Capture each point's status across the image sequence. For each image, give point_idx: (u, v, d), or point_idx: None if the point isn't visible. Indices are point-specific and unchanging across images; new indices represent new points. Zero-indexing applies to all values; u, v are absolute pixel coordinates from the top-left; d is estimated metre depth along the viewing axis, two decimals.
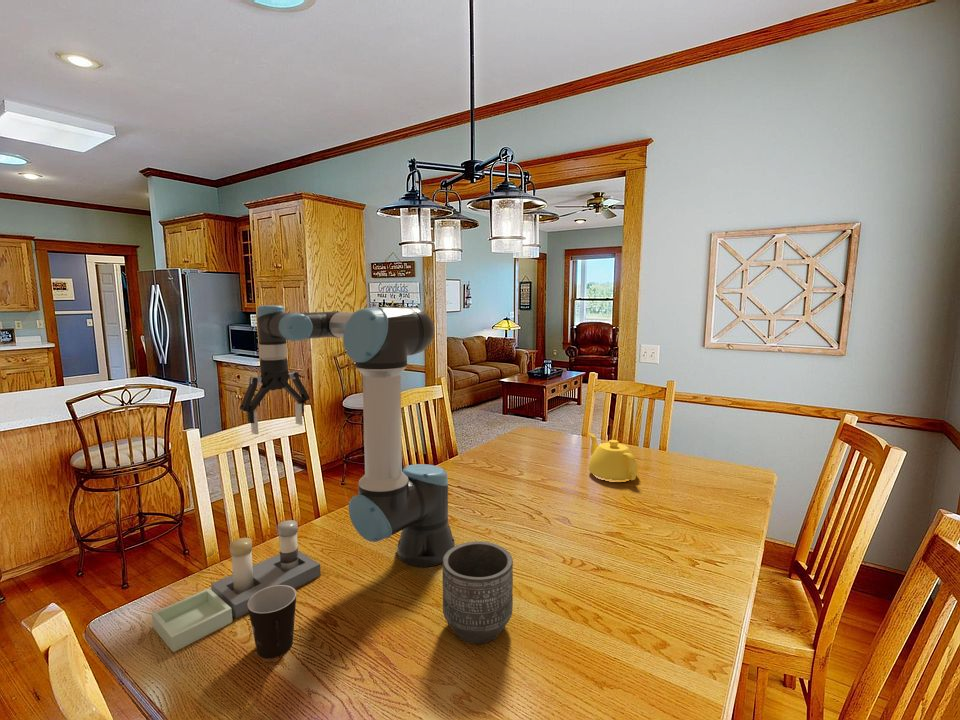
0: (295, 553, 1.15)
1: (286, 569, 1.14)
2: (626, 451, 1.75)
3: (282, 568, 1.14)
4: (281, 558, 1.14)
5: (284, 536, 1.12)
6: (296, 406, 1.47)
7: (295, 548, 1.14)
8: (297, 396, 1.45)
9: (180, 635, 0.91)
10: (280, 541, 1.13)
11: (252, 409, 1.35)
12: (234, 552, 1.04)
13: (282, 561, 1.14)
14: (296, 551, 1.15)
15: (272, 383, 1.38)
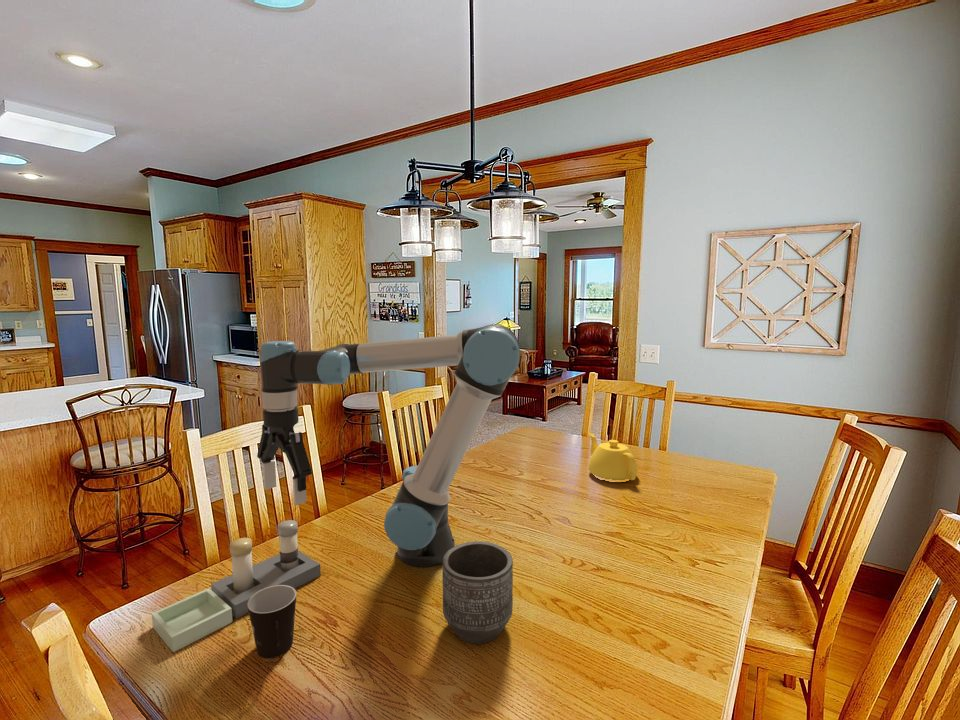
0: (295, 553, 1.15)
1: (286, 569, 1.14)
2: (626, 451, 1.75)
3: (282, 568, 1.14)
4: (281, 558, 1.14)
5: (284, 536, 1.12)
6: None
7: (295, 548, 1.14)
8: (292, 466, 1.07)
9: (180, 635, 0.91)
10: (280, 541, 1.13)
11: (262, 459, 1.16)
12: (234, 552, 1.04)
13: (282, 561, 1.14)
14: (296, 551, 1.15)
15: (270, 437, 1.11)
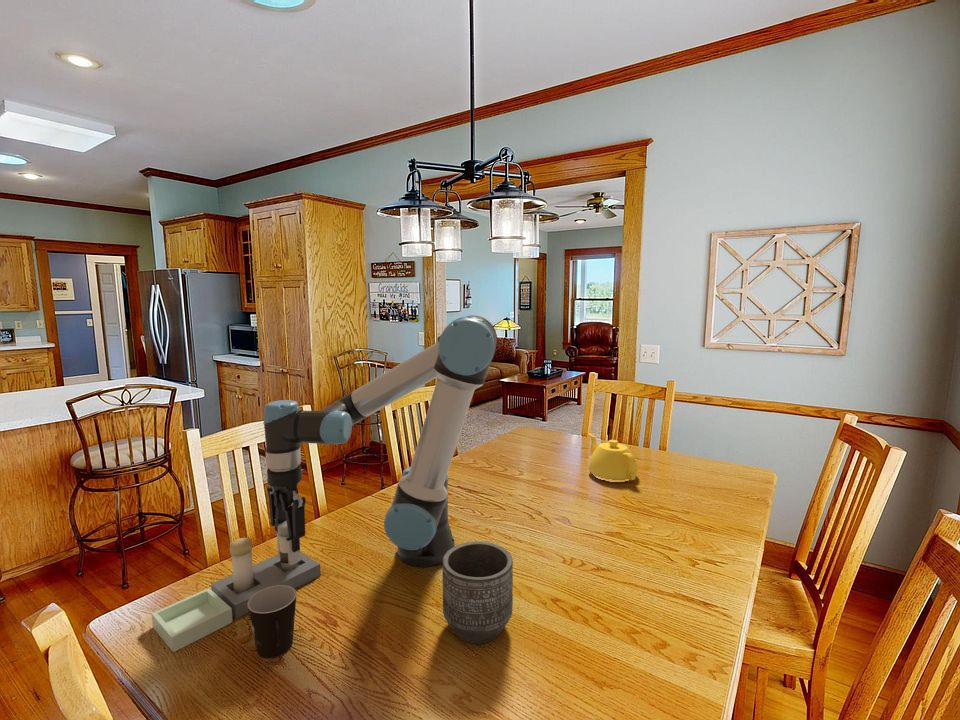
0: None
1: (286, 569, 1.14)
2: (626, 451, 1.75)
3: (282, 568, 1.14)
4: (281, 558, 1.14)
5: (284, 536, 1.12)
6: None
7: None
8: (288, 527, 1.11)
9: (180, 635, 0.91)
10: (280, 541, 1.13)
11: (275, 527, 1.15)
12: (234, 552, 1.04)
13: (282, 561, 1.13)
14: None
15: (275, 496, 1.13)
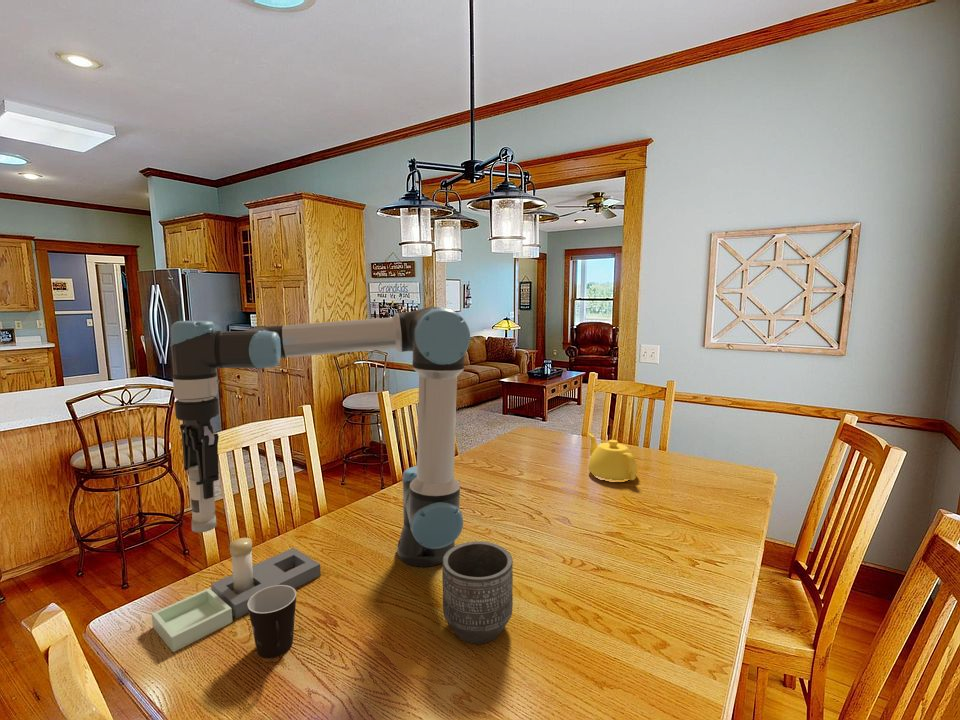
0: None
1: (197, 519, 0.97)
2: (626, 451, 1.75)
3: (193, 518, 0.97)
4: (192, 506, 0.97)
5: (195, 480, 0.96)
6: None
7: None
8: (199, 469, 0.95)
9: (180, 635, 0.91)
10: (191, 486, 0.96)
11: (188, 471, 0.99)
12: (234, 552, 1.04)
13: (193, 510, 0.97)
14: None
15: (185, 433, 0.96)
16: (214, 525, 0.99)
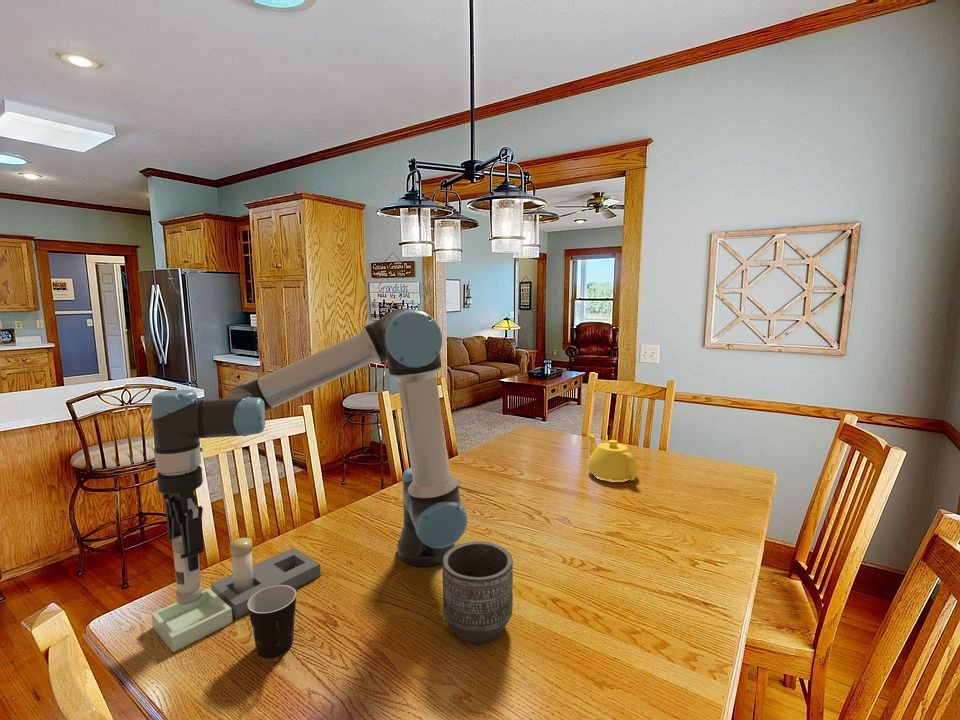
0: None
1: (182, 591, 0.95)
2: (625, 451, 1.75)
3: (178, 590, 0.95)
4: (176, 578, 0.95)
5: (179, 552, 0.94)
6: None
7: None
8: (183, 541, 0.93)
9: (180, 635, 0.91)
10: (175, 558, 0.95)
11: None
12: (234, 552, 1.04)
13: (178, 582, 0.95)
14: None
15: (168, 504, 0.94)
16: (200, 595, 0.97)
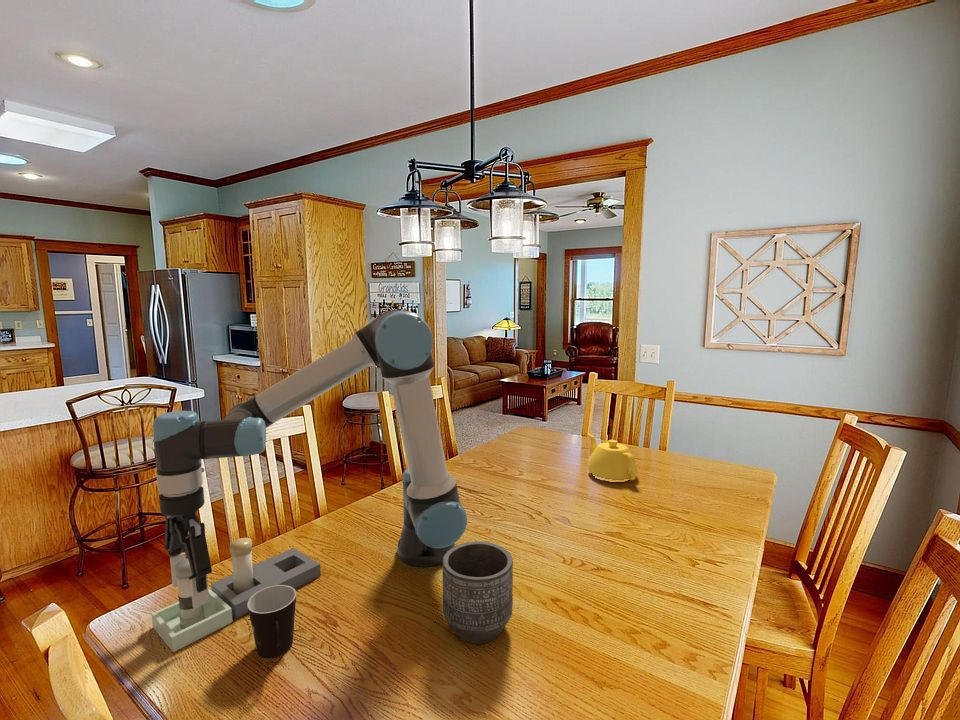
0: None
1: (186, 616, 0.96)
2: (625, 451, 1.75)
3: (181, 615, 0.96)
4: (180, 603, 0.96)
5: (182, 578, 0.95)
6: None
7: None
8: (189, 562, 0.92)
9: (180, 635, 0.91)
10: (178, 584, 0.95)
11: (169, 552, 0.99)
12: (234, 552, 1.04)
13: (181, 607, 0.96)
14: None
15: (170, 524, 0.95)
16: (203, 619, 0.98)
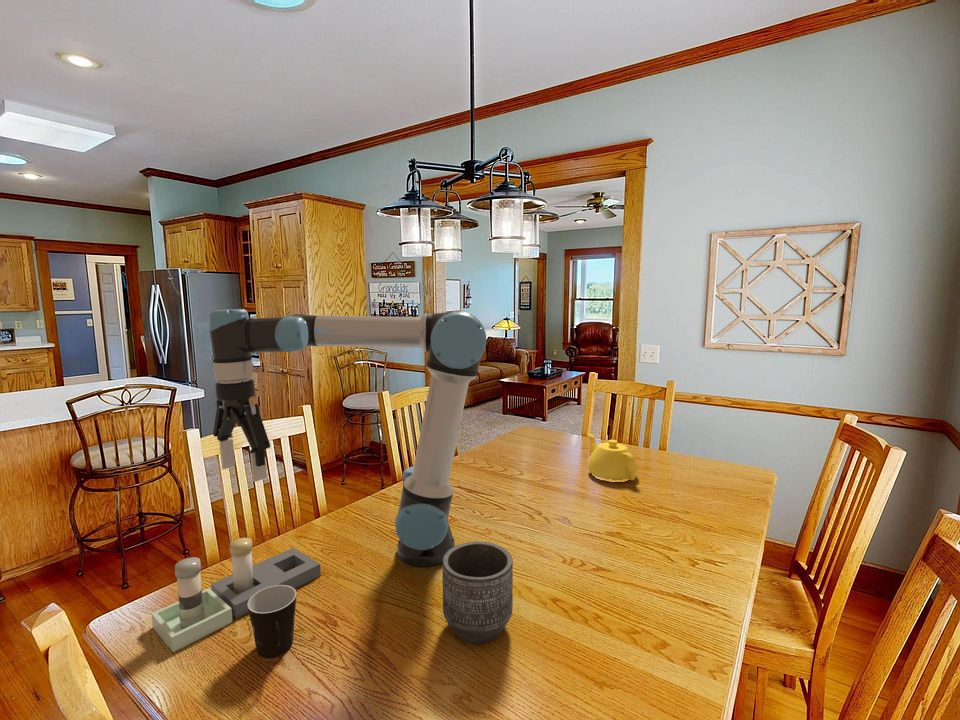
0: (197, 597, 0.97)
1: (186, 616, 0.96)
2: (625, 451, 1.75)
3: (181, 615, 0.96)
4: (180, 603, 0.96)
5: (182, 578, 0.95)
6: None
7: (197, 591, 0.97)
8: (248, 440, 1.01)
9: (180, 635, 0.91)
10: (178, 583, 0.95)
11: (218, 437, 1.10)
12: (234, 552, 1.04)
13: (181, 607, 0.96)
14: (198, 594, 0.97)
15: (225, 412, 1.05)
16: (203, 619, 0.98)
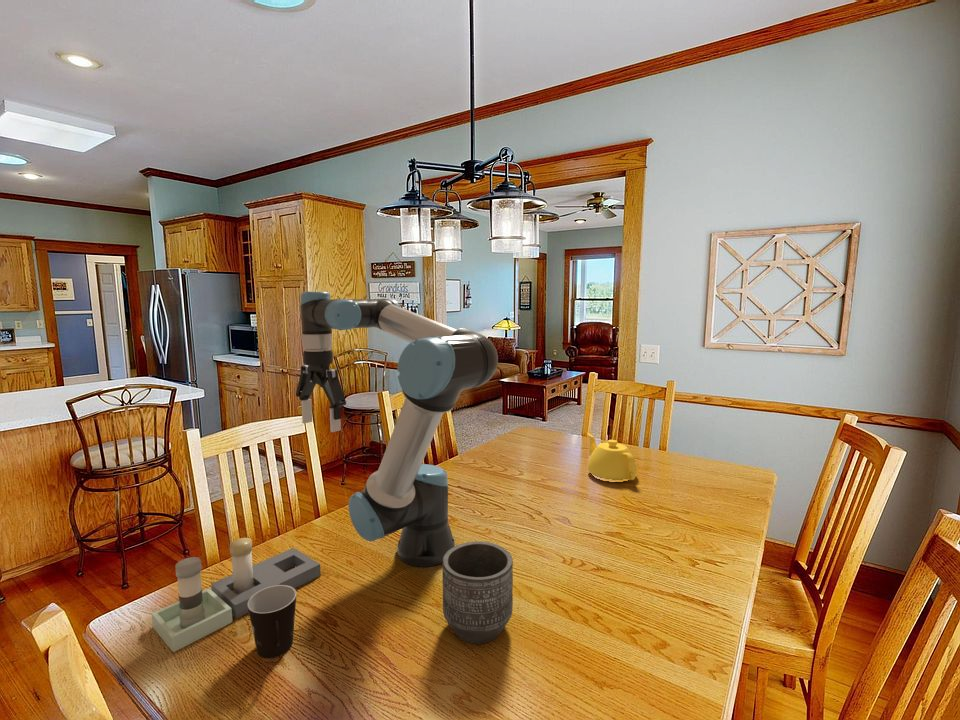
0: (198, 597, 0.97)
1: (186, 616, 0.96)
2: (625, 451, 1.75)
3: (181, 615, 0.96)
4: (180, 603, 0.96)
5: (182, 578, 0.95)
6: None
7: (197, 591, 0.97)
8: (328, 398, 1.25)
9: (180, 635, 0.91)
10: (178, 583, 0.96)
11: (300, 397, 1.33)
12: (234, 552, 1.04)
13: (181, 607, 0.96)
14: (199, 594, 0.97)
15: (308, 375, 1.28)
16: (203, 619, 0.98)
